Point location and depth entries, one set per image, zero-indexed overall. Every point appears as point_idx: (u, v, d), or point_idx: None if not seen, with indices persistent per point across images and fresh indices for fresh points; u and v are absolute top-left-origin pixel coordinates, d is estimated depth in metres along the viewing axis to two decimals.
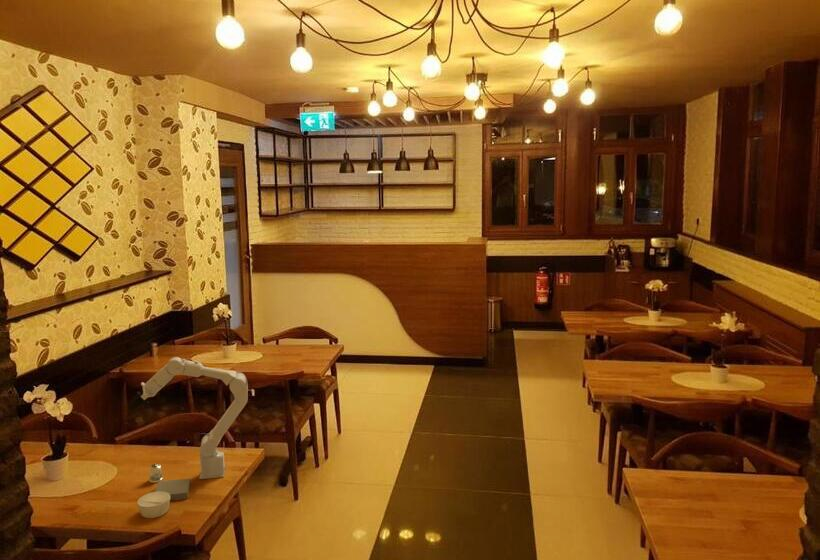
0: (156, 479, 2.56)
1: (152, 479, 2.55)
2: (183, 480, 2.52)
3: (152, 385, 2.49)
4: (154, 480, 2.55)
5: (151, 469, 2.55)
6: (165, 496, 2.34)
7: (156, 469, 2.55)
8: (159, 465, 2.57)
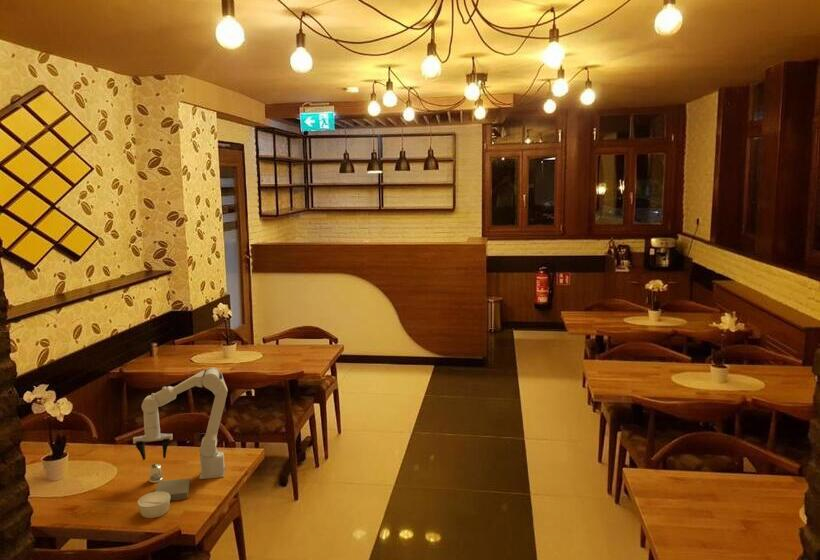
0: (156, 479, 2.56)
1: (152, 479, 2.55)
2: (183, 480, 2.52)
3: None
4: (154, 480, 2.55)
5: (151, 469, 2.55)
6: (165, 496, 2.34)
7: (156, 469, 2.55)
8: (159, 465, 2.57)
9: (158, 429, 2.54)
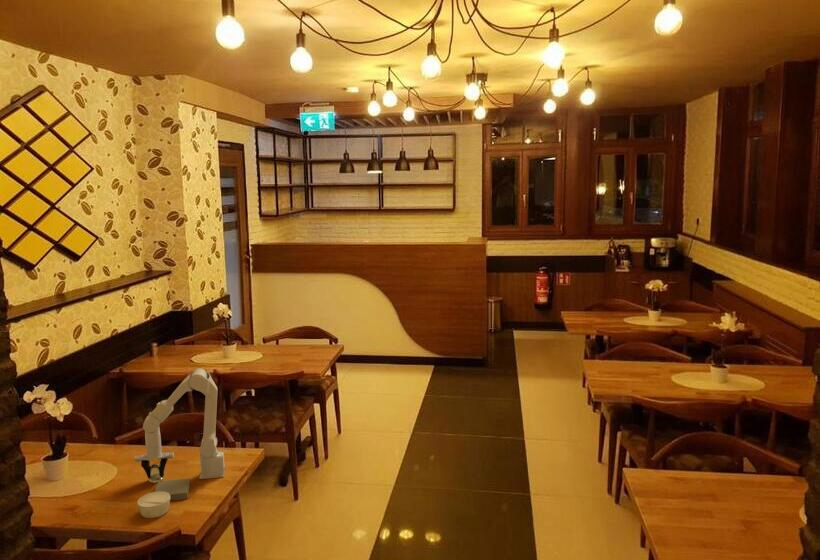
0: (156, 479, 2.56)
1: (152, 479, 2.55)
2: (183, 480, 2.52)
3: None
4: (154, 480, 2.55)
5: (151, 469, 2.55)
6: (165, 496, 2.34)
7: (156, 469, 2.55)
8: (159, 465, 2.57)
9: (159, 448, 2.55)
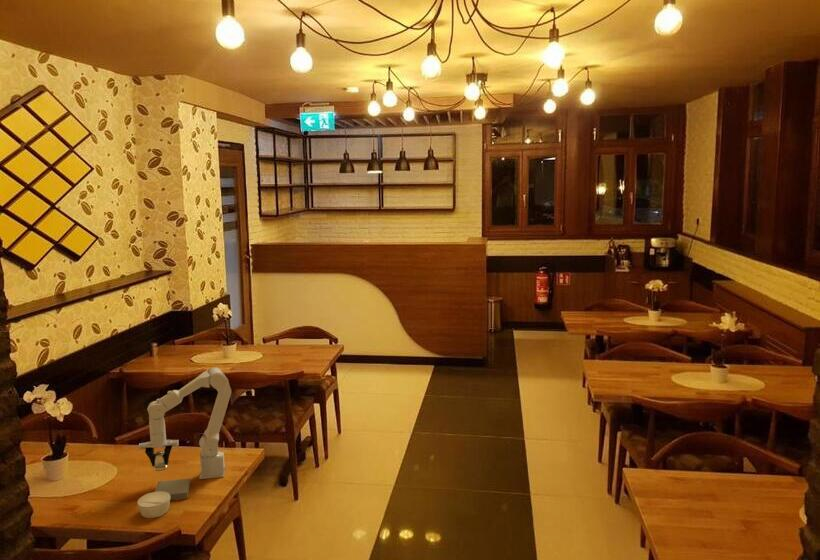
0: (161, 467, 2.51)
1: (156, 467, 2.51)
2: (183, 480, 2.52)
3: None
4: (159, 468, 2.51)
5: (155, 456, 2.50)
6: (165, 496, 2.34)
7: (161, 456, 2.50)
8: (163, 452, 2.53)
9: (164, 435, 2.50)
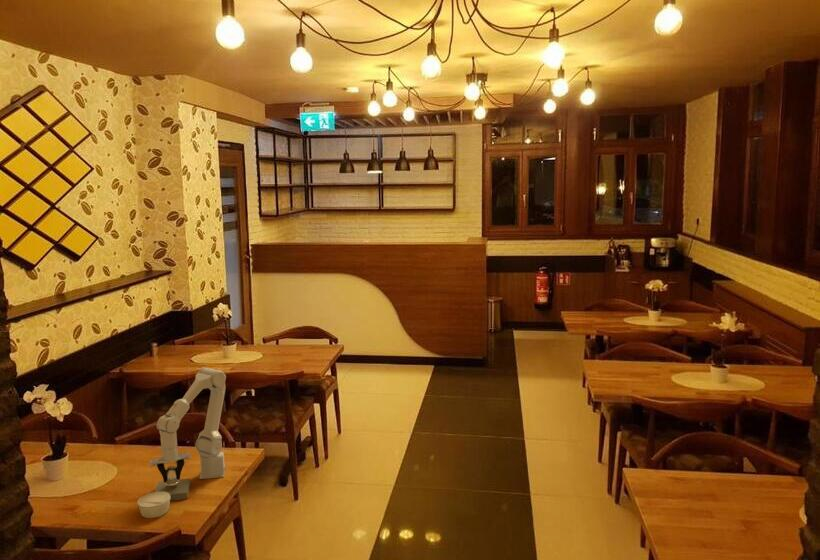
0: (174, 482, 2.45)
1: (170, 482, 2.44)
2: (183, 480, 2.52)
3: None
4: (172, 483, 2.44)
5: (169, 472, 2.44)
6: (165, 496, 2.34)
7: (174, 471, 2.44)
8: (175, 467, 2.47)
9: (176, 449, 2.44)
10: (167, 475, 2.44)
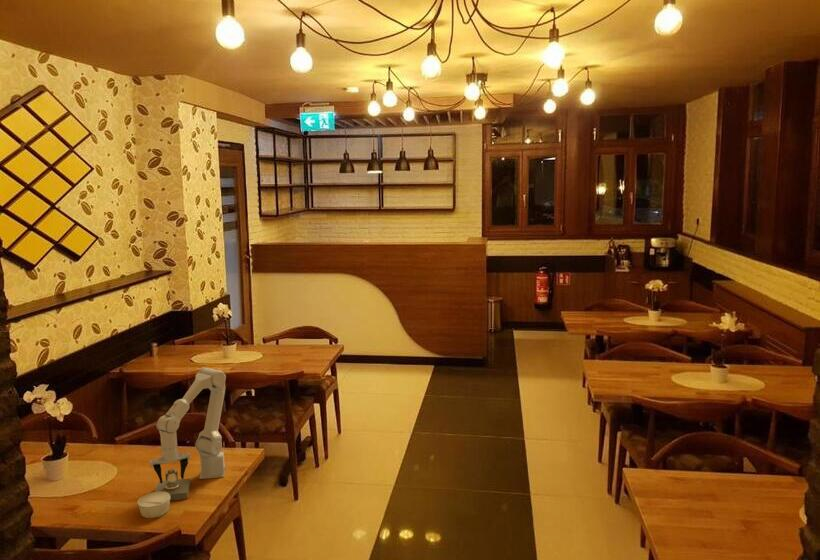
0: (174, 485, 2.45)
1: (170, 486, 2.44)
2: (183, 480, 2.52)
3: None
4: (172, 486, 2.45)
5: (169, 475, 2.44)
6: (165, 496, 2.34)
7: (174, 475, 2.45)
8: (175, 470, 2.47)
9: (176, 449, 2.44)
10: (167, 479, 2.44)
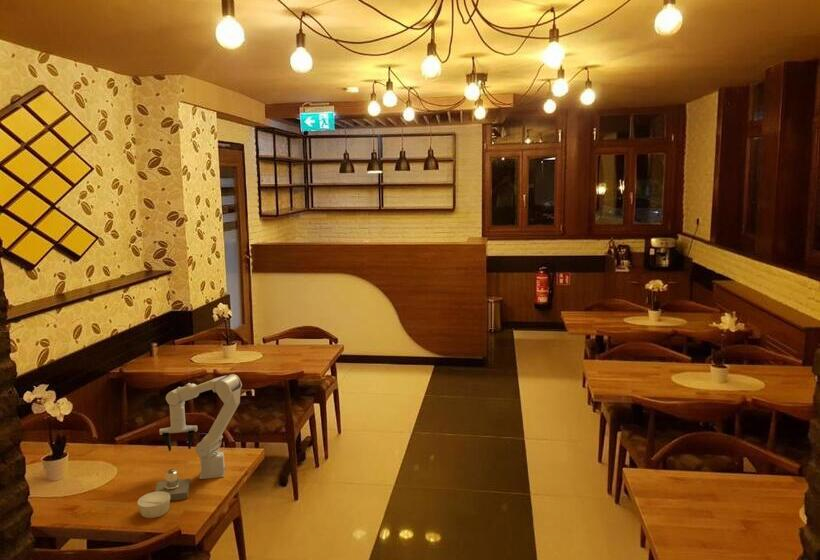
0: (174, 485, 2.45)
1: (170, 486, 2.44)
2: (183, 480, 2.52)
3: None
4: (172, 486, 2.45)
5: (169, 475, 2.44)
6: (165, 496, 2.34)
7: (174, 474, 2.45)
8: (175, 470, 2.47)
9: (184, 421, 2.62)
10: (167, 478, 2.44)
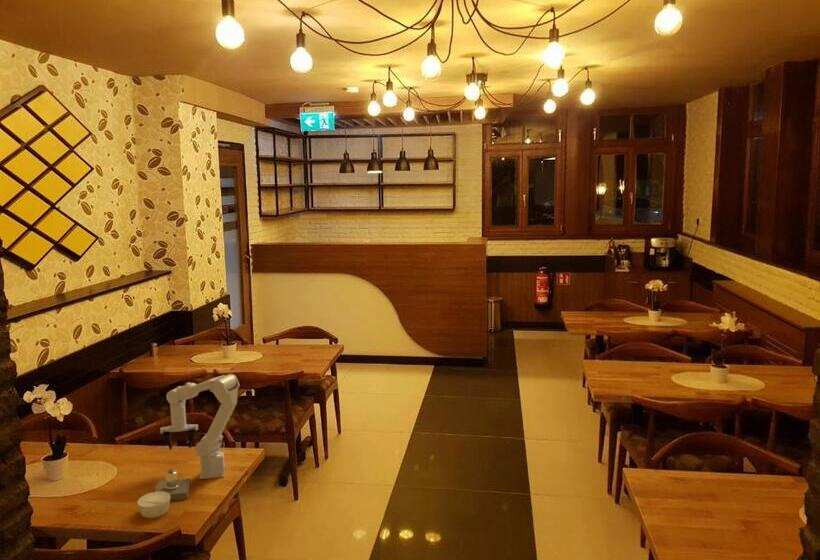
0: (174, 485, 2.45)
1: (170, 486, 2.44)
2: (183, 480, 2.52)
3: None
4: (172, 486, 2.44)
5: (169, 475, 2.44)
6: (165, 496, 2.34)
7: (174, 475, 2.44)
8: (175, 470, 2.47)
9: (184, 420, 2.63)
10: (167, 478, 2.44)
